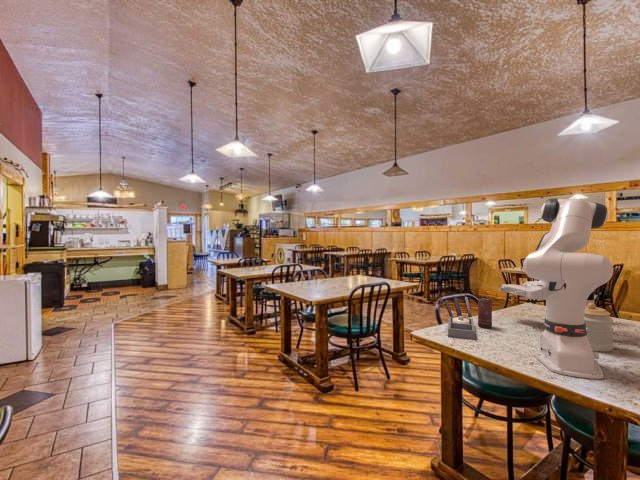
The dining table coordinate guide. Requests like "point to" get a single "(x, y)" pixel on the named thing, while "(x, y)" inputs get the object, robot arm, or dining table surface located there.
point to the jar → (599, 328)
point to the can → (485, 312)
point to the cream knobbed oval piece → (461, 320)
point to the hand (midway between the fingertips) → (507, 291)
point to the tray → (461, 329)
